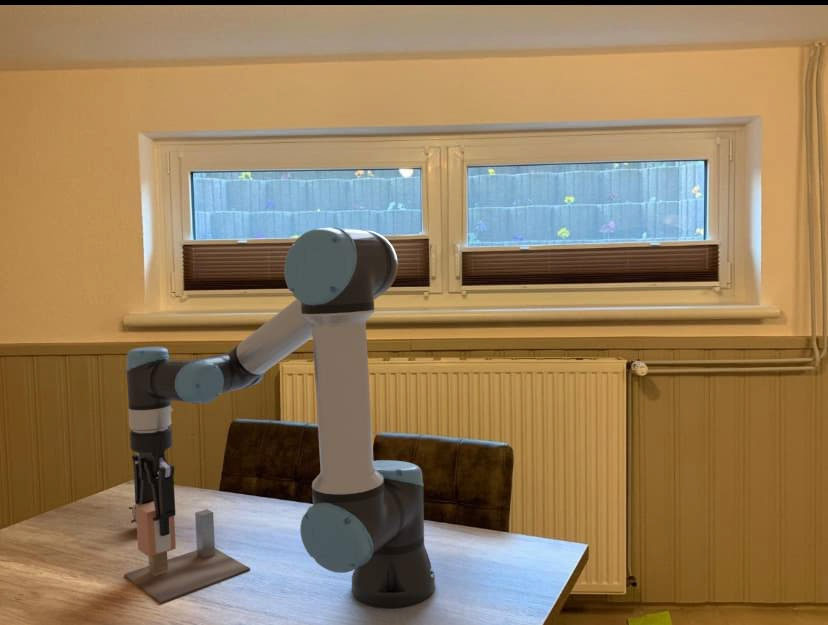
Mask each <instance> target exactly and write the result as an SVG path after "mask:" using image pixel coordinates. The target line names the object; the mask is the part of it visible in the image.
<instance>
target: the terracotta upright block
mask: <svg viewBox="0 0 828 625" xmlns="http://www.w3.org/2000/svg"><path fill="white" fill-rule="evenodd" d="M154 517H156V512H155V506H154V501H153V502H149V503H146V504H142V505H138V506H136V522H137V523H136V522H135V523H136V536H137V537H136V538H137V550H138V551H139V552H141V553H142V554H144V555H146V556H147V557H152V556H155V555H158V554H161V553H164V552H167V553H168V552H170V551H173V550H176V549H177V548H176V546H177V545H176V544H177V543H176V526H175V516H172V517H170V538H171V549H170V550H166V551H163V552H160V553H156V550H155V529H154V521H153V519H152V518H154Z"/></svg>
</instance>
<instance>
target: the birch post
mask: <svg viewBox="0 0 828 625" xmlns="http://www.w3.org/2000/svg"><path fill="white" fill-rule="evenodd" d="M147 557H148V556H147ZM147 559H148V566H149V572H150V573H151V574H153V575H154V576H157V575H159V574H162V573H165V572H168V562H167V560H168V551H167V552H164V553H161V554H158V555H155V556H152V557H148V558H147Z"/></svg>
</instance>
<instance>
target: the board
mask: <svg viewBox="0 0 828 625" xmlns="http://www.w3.org/2000/svg"><path fill="white" fill-rule="evenodd" d="M167 562H168V572H165V573H162V574H159V575H157V576H154V575H153V574H151V573H150V572H149V565H148V566H145V567H142V568H139V569H136V570H132V571H129V572H126V573H124V575H123V576H124V577H125V578H126V579H128V580H129V581H130V582H131V583H132V584H134V585H136V587H137V588H139V589H141V591H143V592H144V593H146V594H147V595H148V596H150V598H152V599H153V600H155V601H156V602H157V603H158V604H160V605H162V604H165V603H167V602H171V601H173V600H176V599H178V598H181V597H183V596H186V595H189V594H192V593H193V592H197V591H199V590H202V589H204V588H207V587H209V586H213V585H214V584H217V583H220V582H223V581H226V580H228V579H230V578H231V579H232V578H233V577H235V576H238V575H241V574H244V573H246V572H249V571H251V567H249V566H247V565H246V564H244V563H242V562H240V561H238V560H237V559H234V558H233V557H231V556H229V555H228V554H226V553H224V552H222V551H221V550H219V549H217V548H216V547H215V555H214V556H211V557H209V558H206V559H202V558H200V557H199V556H197V549H196V550H193V551H190V552H187V553H184V554H181V555H177V556H174V557H172V558H169V559H168V558H167Z"/></svg>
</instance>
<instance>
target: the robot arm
mask: <svg viewBox="0 0 828 625" xmlns="http://www.w3.org/2000/svg"><path fill="white" fill-rule="evenodd" d="M397 257H398V256H397V254H396V251H395V248H394V247H393V245H392V244H391V243H390V242H389V240H388V239H386V238H385V237H384V236H383V235H381V234H379V233H377V232H375V231H372V230H366V229H353V228H345V227H344V228H343V227H335V226H334V227H329V226H328V227H323V228H320V227H319V228H314V229H310V230H307V231H306V232H304V233H302V234H301V235H300V236H298V237H297V239H296V240H295V241H294V243H292V244H291V246H290V247H289V250H288V251H287V254H286V257H285V263H284V270H283V271H284V280H285V284H286V285H287V286H286V287H287V288H288V290H289V291H290V292H292V294H293V295H292V296H293V297H294V298H295V300H293V301H292V302H291V303H289V304H288V305H287V306H286V307H284V308H283V309H282V310H281V311H279V312H278V313H277V314H275V315H274V316H273V317H272V318H270V319H269V320H268V321H267V322H265V323H264V324H262V325H261V326H260V327H258V329H256V330H255V331H254V332H252V333H251V334H250V335H248V336H247V337H246V338H245V339H243V340H242V341H240V343H238V344H237V345H236V346H234V347H233V348H232V349H231V350H229V351H228V352H226V353H222V354H215V355H210V356H206V357H200V358H199V357H198V358H194V359H189V360H188V359H187V360H182V359H181V360H180V359H170V358H171V357H170V355H169V350H168V349H167V347H164V346H148V347H147V346H146V347H145V346H144V347H138V348H137V347H136V348H132V349H130V350H129V351H128V352H127V355H126V371H125V374H126V381H127V399H128V400H127V403H128V427H129V429H130V430H131V431H130V433H129V438H130V439H129V441H130V443H129V444H130V450H131V451H132V452H134V453H137V454H133V455H132V456H131V459H132V465H133V482H134V483H133V484H134V502H135V504H139V505H142V504H146V503H149V502H153V501H154V506H155V512H156V517H154V518H152V519H153V521H154V529H155V550H156V553H160V552H163V551H166V550H170V549H171V538H170V517H172V516H174V517H175V516H176V500H175V499H176V498H175V497H176V496H175V483H174V482H175V481H174V478H175V476H174V475H175V466H174V465H173V464H170V465H168V459H167V455H166V451H167V449H171V448H172V446H173V441H174V440H173V429H172V427H171V425H172V412H173V408H172V407H171V404H172V403H171V402H172V401H173V402H174V401H176V402H183V403H189V404H196V405H197V404H208V403H212V402H213V401H215V400H216V399H217V397H219V396H220V395H221V394H225V393H229V392H234V391H238V390H243V389H248V388H250V387H252V386H255V385H257V384H259V383H260V382H261V381H262V380H263V379H264V376H265V375H266V372H267V371H268V370H270V369H271V368H272V367H274V366H276V365H277V364H278V363H279V362H281V361H282V360H284V359H285V358H286V357H287V356H289V355H290V354H292V353H293V352H294V351H295V350H297V349H298V348H300V347H301V346H303V345H304V344H306V343H307V342H308V341H309V340H311V339H312V349H313V352H312V353H313V364H314V365H313V367H314V368H313V369H314V383H315V398H316V401H315V402H316V415H317V416H316V417H317V430H318V448H319V449H318V450H319V462H320V463H319V464H320V472H319V474H318V475H317V476H316V477H315V479H314V480H313V481H312V483H311V488H312V489H311V491H312V492H311V493H312V505H311V506H309V507H308V509H307V510H306V512H305V514H303V516H302V518H301V521H300V526H299V528H300V529H299V531H300V537H301V541H302V544H303V546H304V548H305V550H306V552H307V553H308V555H309V556H310V557H311V558H313V559H314V561H315V563H317V564H318V566H320V567H322V568H323V569H325V570H327V571H329V572H333V573H339V574H343V573H344V574H345V573H349V572H352V575H351V592H352V595H353V596H354V597H355V598H356V599H357V600H358V601H360V602H361V603H363V604H364V605H365V604H366V605H368V606H372V607H378V608H386V609H387V608H388V609H390V608H391V609H394V608H402V607H409V606H412V605H416V604H418V603H421V602H423V601H425V600H427V599H428V598H430V596H432V594H433V593H434V591H435V589H436V584H435V583H436V582H435V581H436V578H435V577H436V576H435V572H434V568H433V567H432V565H431V561H430V558H429V555H428V551H427V548H426V546H425V524H424V522H425V519H424V518H425V516H424V515H425V514H424V512H425V511H424V507H425V506H424V487H425V484H424V482H423V481H424V480H423V473H422V472H423V471H422V469H421V467H420V466H418V465H416V464H414V463H411V462H408V461H400V460H389V459H387V460H385V459H384V460H374V448H373V431H372V430H373V429H372V417H371V416H372V415H371V414H372V413H371V412H372V410H371V396H370V392H371V391H370V380H369V378H370V377H369V365H368V364H369V359H368V342H367V340H368V339H367V327H366V326H367V321H368V319H369V318H370V317H371V316H372V315H373V313H375V300H376V299H377V298H379V297H380V296H382V295H383V294H384V293H386V292H387V291H388V290H389V289H390V288H391V286H392V285H393V283H394V282H395V280H396V277H397V274H398V265H399V264H398V258H397ZM170 551H171V550H170Z"/></svg>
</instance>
